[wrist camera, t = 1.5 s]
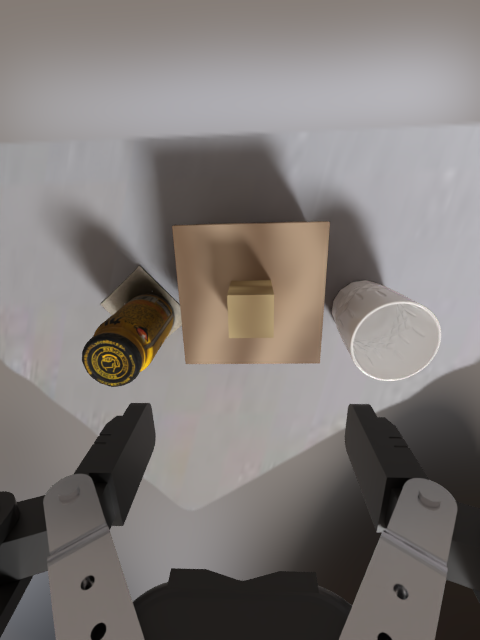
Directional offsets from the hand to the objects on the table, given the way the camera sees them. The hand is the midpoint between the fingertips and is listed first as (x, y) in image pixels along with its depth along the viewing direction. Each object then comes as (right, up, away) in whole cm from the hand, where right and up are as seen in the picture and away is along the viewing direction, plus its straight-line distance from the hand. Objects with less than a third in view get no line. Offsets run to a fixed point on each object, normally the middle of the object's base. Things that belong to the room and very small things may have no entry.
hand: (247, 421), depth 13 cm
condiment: (-12, +5, +26) cm, 29 cm away
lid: (+1, +6, +16) cm, 18 cm away
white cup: (+14, +6, +25) cm, 29 cm away
